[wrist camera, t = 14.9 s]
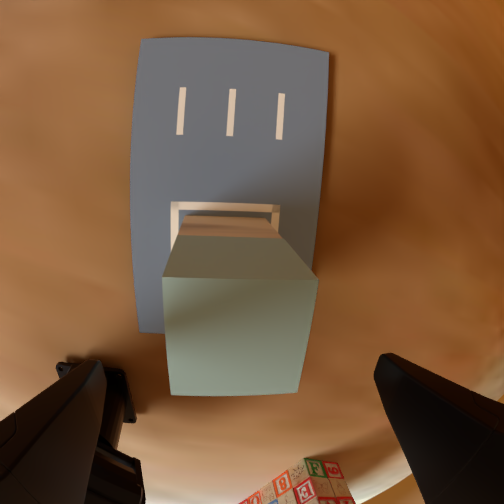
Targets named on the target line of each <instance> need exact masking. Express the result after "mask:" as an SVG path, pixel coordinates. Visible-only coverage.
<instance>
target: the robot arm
mask: <svg viewBox="0 0 504 504" xmlns="http://www.w3.org/2000/svg"><path fill="white" fill-rule="evenodd" d="M61 367H62V368H61ZM56 370H57V373H58V376H59V378H60V379H59V380H58V381H56V382H55V383H54V384H52V385H51V386H49V387H48V388H47V389H45V390H44V391H42V392H41V393H40V394H38V395H37V396H35V397H34V398H33V399H31V400H30V401H28V402H27V403H26V404H24V405H23V406H21V407H20V408H19V409H17V410H16V411H15V413H14V412H13V413H12V414H10V415H9V416H7V417H6V418H5V419H3V420H2V421H0V504H145V500H146V498H145V490H144V484H143V477H142V470H141V463H140V460H138V459H136V458H134V457H133V458H132V457H130V456H128V455H126V454H124V453H122V452H120V451H118V450H117V447H118V443H119V438H120V433H121V429H122V424H123V422H124V423H135V422H136V420H137V417H136V413H135V409H134V406H133V402H132V398H131V394H130V389H129V385H128V381H127V376H126V373H125V371H124V370H122V369H116V368H106V367H103V366H102V363H101V361H99V360H94V359H88V360H86V361H85V362H83V363H82V364H72V363H65V362H58V363H57V365H56ZM118 374H120V375H121V376H120V375H118ZM374 381H375V383H376V386H377V389H378V392H379V395H380V398H381V401H382V404H383V407H384V409H385V412H386V415H387V417H388V419H389V421H390V424H391V426H392V428H393V430H394V432H395V434H396V437H397V439H398V441H399V443H400V445H401V448H402V450H403V452H404V454H405V457H406V459H407V461H408V464H409V466H410V468H411V470H412V473H413V475H414V477H415V480H416V482H417V485H418V487H419V489H420V492H421V494H422V497H423V499H424V501H425V504H504V404H503V403H500V402H497V401H495V400H492V399H489V398H487V397H485V396H482V395H480V394H478V393H476V392H474V391H470V390H469V389H467V388H465V387H463V386H460V385H458V384H456V383H454V382H452V381H450V380H448V379H445V378H443V377H441V376H439V375H437V374H435V373H433V372H431V371H429V370H427V369H424V368H422V367H420V366H418V365H416V364H414V363H412V362H410V361H408V360H406V359H404V358H402V357H400V356H398V355H395V354H393V353H385V354H382V355H380V357H379V359H378V362H377V365H376V368H375V371H374Z"/></svg>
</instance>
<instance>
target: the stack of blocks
mask: <svg viewBox="0 0 504 504" xmlns="http://www.w3.org/2000/svg"><path fill="white" fill-rule="evenodd" d="M239 504H356V503H355V501H354V499H353V497H352V495H351V493H350V491H349V489H348V486H347V484H346V482H345V480H344V476H343V474H342V472H341V470H340V467H339V465H338V463H334V462H327V461H319V460H313V459H307V458H303V459H302V460H300V461H299V462H298V463H296V464H295V465H294V466H292V467H291V468H290V469H288V470H286V471H285V472H284V473H282V474H281V475H280V476H278V477H277V478H275V479H274V480H273V481H271V482H270V483H268V484H267V485H265V486H264V487H262V488H261V489H260V490H259V491H257V492H256V493H255V494H253V495H251V496H250V497H248V498H247V499H246V500H244V501H242V502H241V503H239Z"/></svg>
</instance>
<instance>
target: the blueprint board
mask: <svg viewBox="0 0 504 504" xmlns="http://www.w3.org/2000/svg"><path fill="white" fill-rule="evenodd" d="M328 71H329V52H325V51H320V50H315V49H309V48H304V47H298V46H292V45H286V44H279V43H271V42H263V41H253V40H242V39H228V38H204V37H175V38H151V39H141V45H140V52H139V60H138V67H137V76H136V85H135V95H134V106H133V120H132V136H131V163H130V216H131V243H132V261H133V275H134V286H135V297H136V307H137V316H138V324H139V332H140V333H161V334H165V325H164V309H163V289H162V276H163V273H164V270H165V267H166V264H167V261H168V259H169V256H170V253H171V250H172V248H173V245H174V242H175V240H176V237H177V235H178V232H179V230H180V227H181V224H182V222H183V219H184V217H185V215H188V216H226V217H255V218H266V219H267V221H268V222H269V223H270V224H271V225H272V226H273V228H274V229H275V230H276V231H277V232H278V234H279V235H280V236H281V237H282V238H283V239H285V240H286V242H287V243H288V244H289V245H290V246H291V247H292V249H293V250H294V251H295V252H296V253H297V254H298V256H299V257H300V258H301V259H302V260H303V261H304V263H305V264H306V265H307V266H308V267H309V269H310V270H312V262H313V255H314V247H315V239H316V230H317V221H318V212H319V203H320V193H321V182H322V171H323V159H324V146H325V132H326V115H327V96H328Z"/></svg>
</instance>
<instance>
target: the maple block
mask: <svg viewBox="0 0 504 504" xmlns="http://www.w3.org/2000/svg"><path fill="white" fill-rule="evenodd" d="M178 235H194V236H226V237H254V238H280V239H283V238H282V237H281V236H280V235H279V234H278V232H277V231H276V230H275V229H274V228H273V226H272V225H271V224H270V223H269V222H268V221H267V219H266V218H255V217H226V216H188V215H185V217H184V219H183V222H182V224H181V227H180V230H179V232H178Z"/></svg>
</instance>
